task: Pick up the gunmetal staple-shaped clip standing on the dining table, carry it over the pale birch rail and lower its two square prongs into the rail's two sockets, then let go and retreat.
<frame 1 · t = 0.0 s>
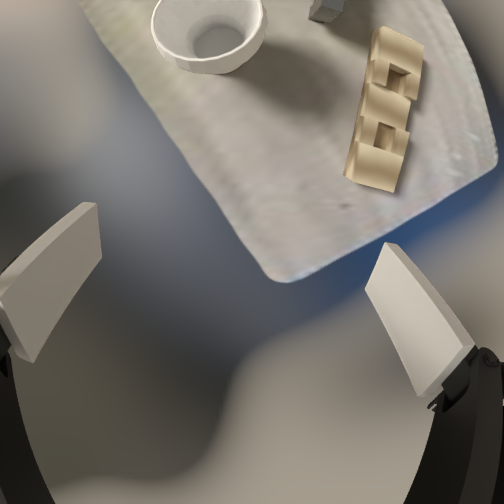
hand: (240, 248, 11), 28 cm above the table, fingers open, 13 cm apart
rail: (381, 106, 32), on the table
cup: (220, 49, 28), on the table
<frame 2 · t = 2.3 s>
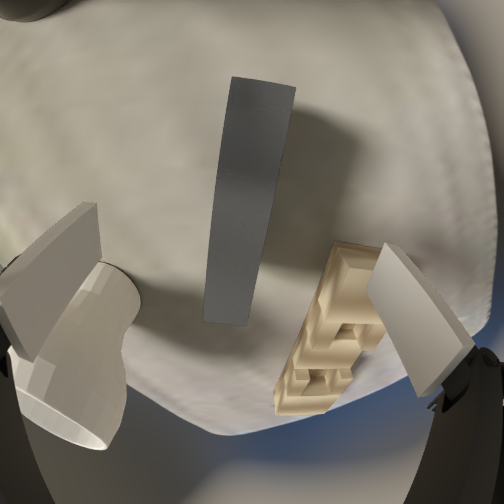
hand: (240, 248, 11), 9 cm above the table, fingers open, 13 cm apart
rail: (326, 338, 29), on the table
cup: (107, 291, 25), on the table
clip: (240, 177, 19), on the table
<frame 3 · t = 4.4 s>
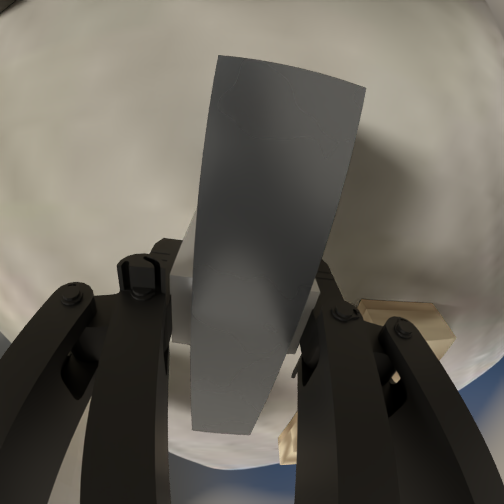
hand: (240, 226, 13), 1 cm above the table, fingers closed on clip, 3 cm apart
rail: (340, 393, 23), on the table
cup: (84, 345, 19), on the table
clip: (241, 222, 14), on the table, touching gripper
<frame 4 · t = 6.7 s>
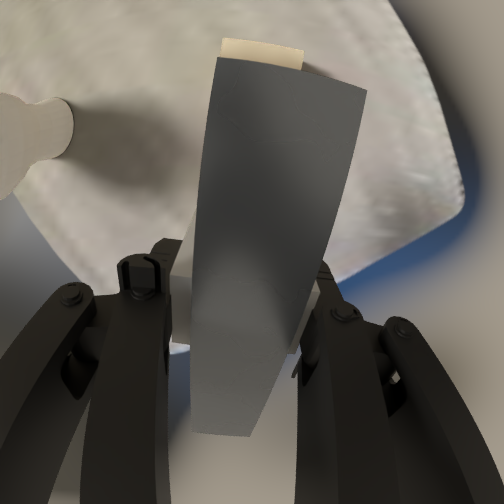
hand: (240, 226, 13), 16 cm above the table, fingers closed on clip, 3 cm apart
rail: (242, 161, 27), on the table
cup: (51, 127, 23), on the table
clip: (240, 224, 14), point 15 cm above the table, touching gripper
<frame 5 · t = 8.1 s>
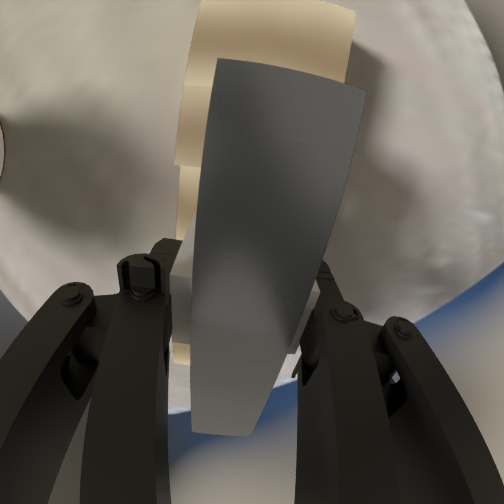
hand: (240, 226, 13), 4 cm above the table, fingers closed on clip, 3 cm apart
rail: (241, 198, 17), on the table
clip: (240, 224, 14), point 4 cm above the table, touching gripper
when the fingers open (4 cm above the table, at t = 9.0 s): clip drops 2 cm, resting on rail.
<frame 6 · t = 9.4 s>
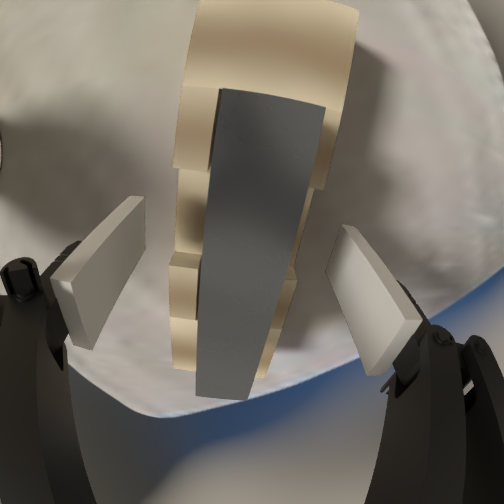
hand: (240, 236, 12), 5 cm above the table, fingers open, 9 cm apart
rail: (241, 201, 17), on the table
clip: (239, 214, 16), point 1 cm above the table, touching rail
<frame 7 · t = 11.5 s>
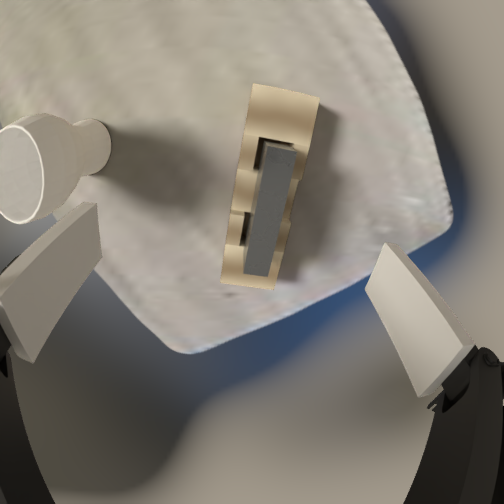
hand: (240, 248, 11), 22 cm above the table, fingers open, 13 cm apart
rail: (263, 187, 33), on the table
cup: (88, 146, 29), on the table
clip: (262, 193, 32), point 1 cm above the table, touching rail
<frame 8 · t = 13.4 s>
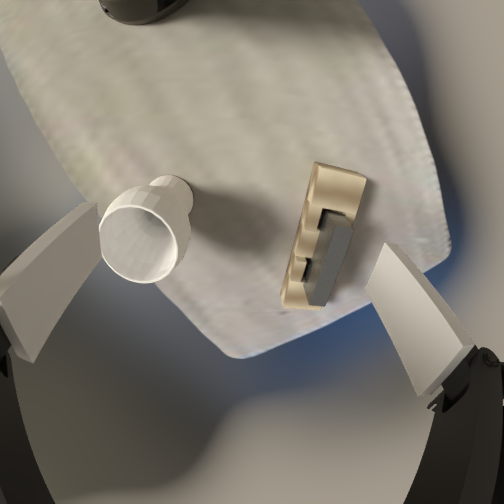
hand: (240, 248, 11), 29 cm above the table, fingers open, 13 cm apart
rail: (316, 237, 44), on the table
cup: (169, 198, 40), on the table
clip: (317, 242, 43), point 1 cm above the table, touching rail
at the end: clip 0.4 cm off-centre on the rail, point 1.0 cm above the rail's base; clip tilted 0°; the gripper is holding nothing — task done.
